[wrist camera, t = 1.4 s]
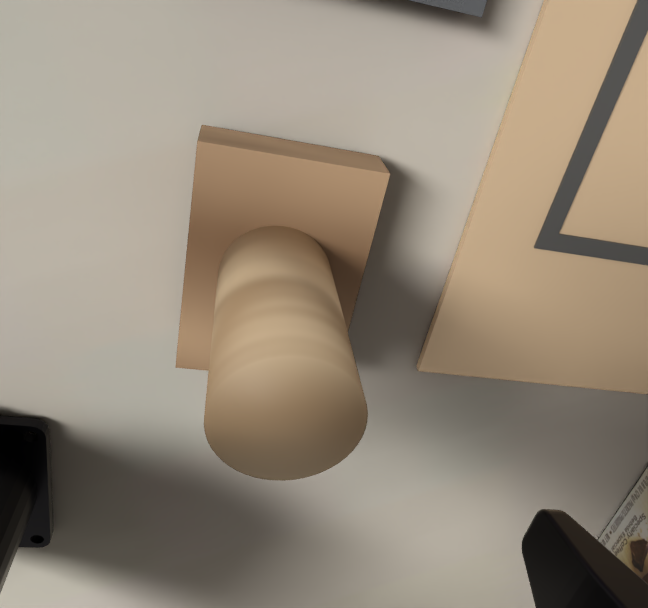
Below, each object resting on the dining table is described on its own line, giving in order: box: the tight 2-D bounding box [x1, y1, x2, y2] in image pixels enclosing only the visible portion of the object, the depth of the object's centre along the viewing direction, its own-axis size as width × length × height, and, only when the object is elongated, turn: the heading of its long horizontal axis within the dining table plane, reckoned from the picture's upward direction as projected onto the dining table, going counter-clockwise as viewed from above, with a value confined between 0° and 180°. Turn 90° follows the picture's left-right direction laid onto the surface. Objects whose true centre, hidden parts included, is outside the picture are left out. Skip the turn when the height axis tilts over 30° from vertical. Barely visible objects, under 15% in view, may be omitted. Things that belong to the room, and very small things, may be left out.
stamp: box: [176, 125, 390, 480], centre depth 15 cm, size 7×5×8 cm
